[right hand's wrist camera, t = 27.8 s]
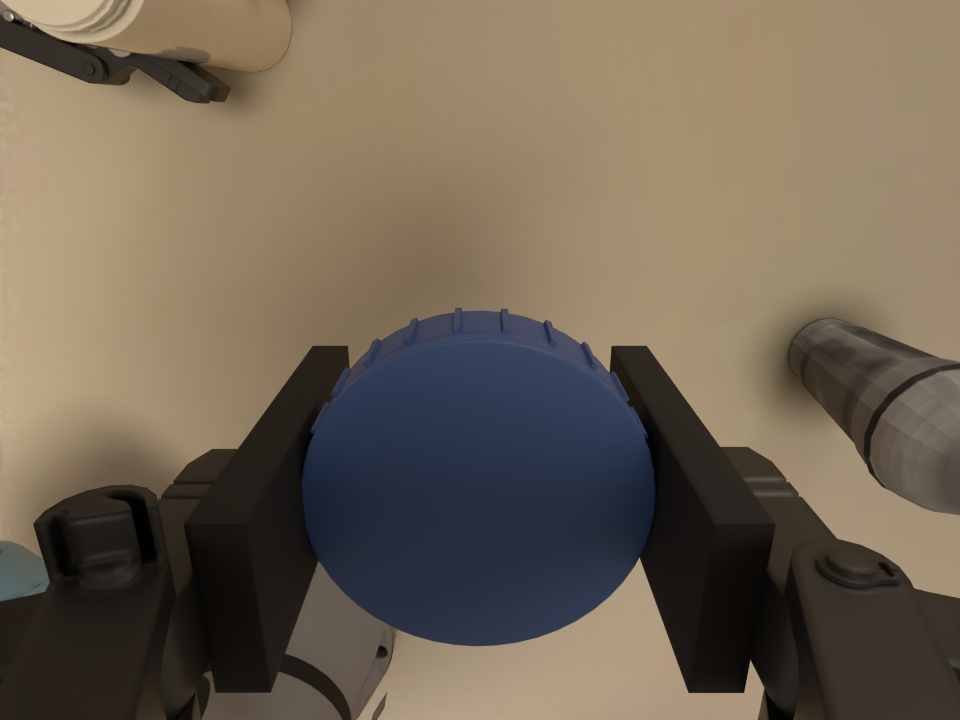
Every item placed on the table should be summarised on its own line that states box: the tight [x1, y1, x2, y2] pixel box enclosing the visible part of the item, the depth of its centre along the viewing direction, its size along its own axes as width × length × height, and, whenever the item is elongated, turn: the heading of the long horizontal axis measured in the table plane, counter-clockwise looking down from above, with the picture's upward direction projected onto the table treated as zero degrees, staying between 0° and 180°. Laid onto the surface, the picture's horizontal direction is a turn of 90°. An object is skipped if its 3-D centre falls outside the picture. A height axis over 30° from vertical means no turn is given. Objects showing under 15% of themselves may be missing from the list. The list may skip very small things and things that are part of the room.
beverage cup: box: [789, 318, 960, 515], centre depth 32 cm, size 7×7×20 cm
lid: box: [301, 308, 656, 646], centre depth 11 cm, size 6×6×2 cm
